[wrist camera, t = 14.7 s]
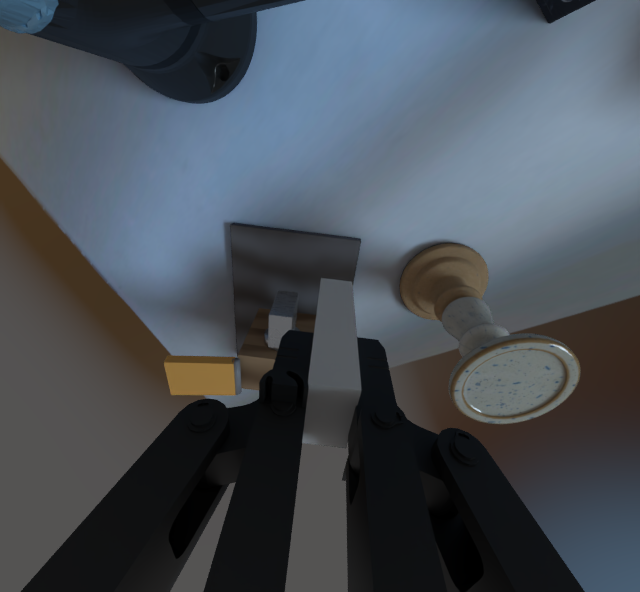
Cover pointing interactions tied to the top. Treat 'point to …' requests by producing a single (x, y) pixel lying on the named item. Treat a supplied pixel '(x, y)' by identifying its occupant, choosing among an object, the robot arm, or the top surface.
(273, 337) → the lynch pin
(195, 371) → the plate
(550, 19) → the small box
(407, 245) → the top surface
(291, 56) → the top surface
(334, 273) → the hitch block
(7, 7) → the robot arm
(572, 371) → the candle holder
